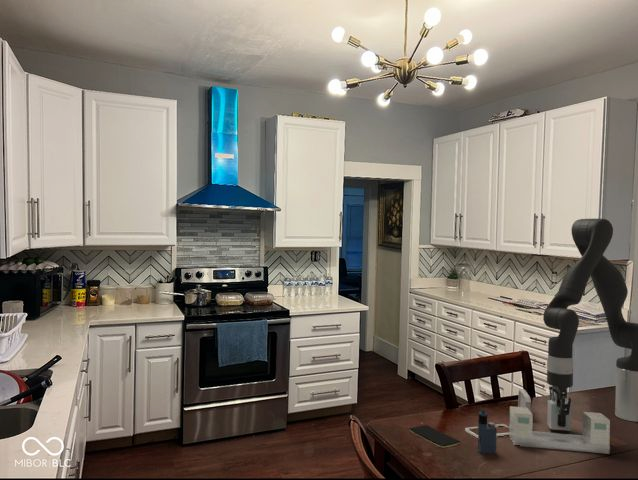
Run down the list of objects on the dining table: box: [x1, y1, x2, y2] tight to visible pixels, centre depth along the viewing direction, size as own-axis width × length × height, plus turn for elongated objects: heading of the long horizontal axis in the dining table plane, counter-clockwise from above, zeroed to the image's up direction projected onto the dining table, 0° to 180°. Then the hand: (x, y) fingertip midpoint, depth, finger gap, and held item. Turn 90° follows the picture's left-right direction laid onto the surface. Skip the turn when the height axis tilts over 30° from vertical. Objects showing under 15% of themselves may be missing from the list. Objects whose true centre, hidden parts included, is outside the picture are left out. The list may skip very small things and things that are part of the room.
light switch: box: [517, 388, 532, 413], centre depth 172 cm, size 2×12×8 cm, turn 169°
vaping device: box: [477, 408, 498, 455], centre depth 139 cm, size 3×5×12 cm, turn 95°
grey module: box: [546, 399, 572, 431], centre depth 157 cm, size 6×4×8 cm
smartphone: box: [409, 424, 461, 449], centre depth 149 cm, size 7×1×15 cm
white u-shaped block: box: [508, 405, 611, 455], centre depth 146 cm, size 26×7×10 cm, turn 81°
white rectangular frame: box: [464, 423, 510, 439], centre depth 154 cm, size 7×1×15 cm
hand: (559, 423), depth 157 cm, fingers closed on grey module, 4 cm apart
